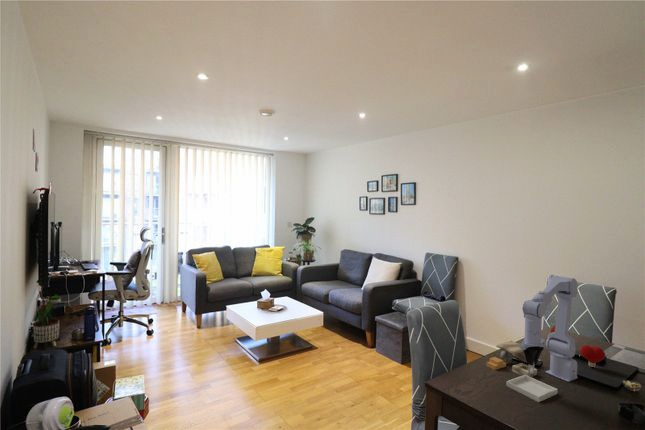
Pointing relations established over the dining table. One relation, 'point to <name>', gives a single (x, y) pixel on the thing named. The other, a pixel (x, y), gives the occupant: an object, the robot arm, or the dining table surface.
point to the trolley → (510, 351)
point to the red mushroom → (592, 354)
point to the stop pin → (531, 368)
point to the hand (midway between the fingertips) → (531, 363)
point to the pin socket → (523, 370)
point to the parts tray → (531, 388)
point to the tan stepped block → (495, 363)
